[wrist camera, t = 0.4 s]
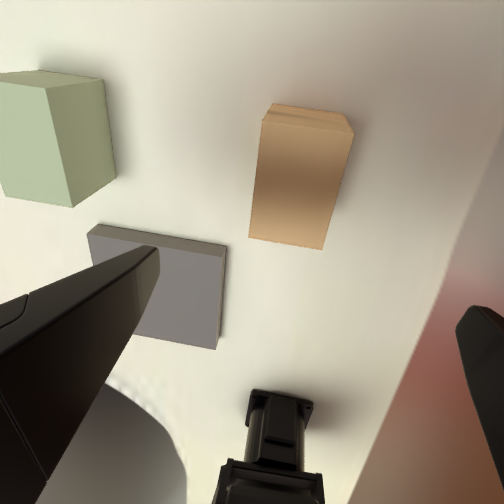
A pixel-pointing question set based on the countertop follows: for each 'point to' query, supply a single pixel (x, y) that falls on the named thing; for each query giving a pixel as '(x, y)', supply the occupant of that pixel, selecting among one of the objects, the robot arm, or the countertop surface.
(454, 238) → the countertop surface
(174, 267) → the grey baseplate
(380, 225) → the countertop surface
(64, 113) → the sage brick
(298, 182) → the oak brick
